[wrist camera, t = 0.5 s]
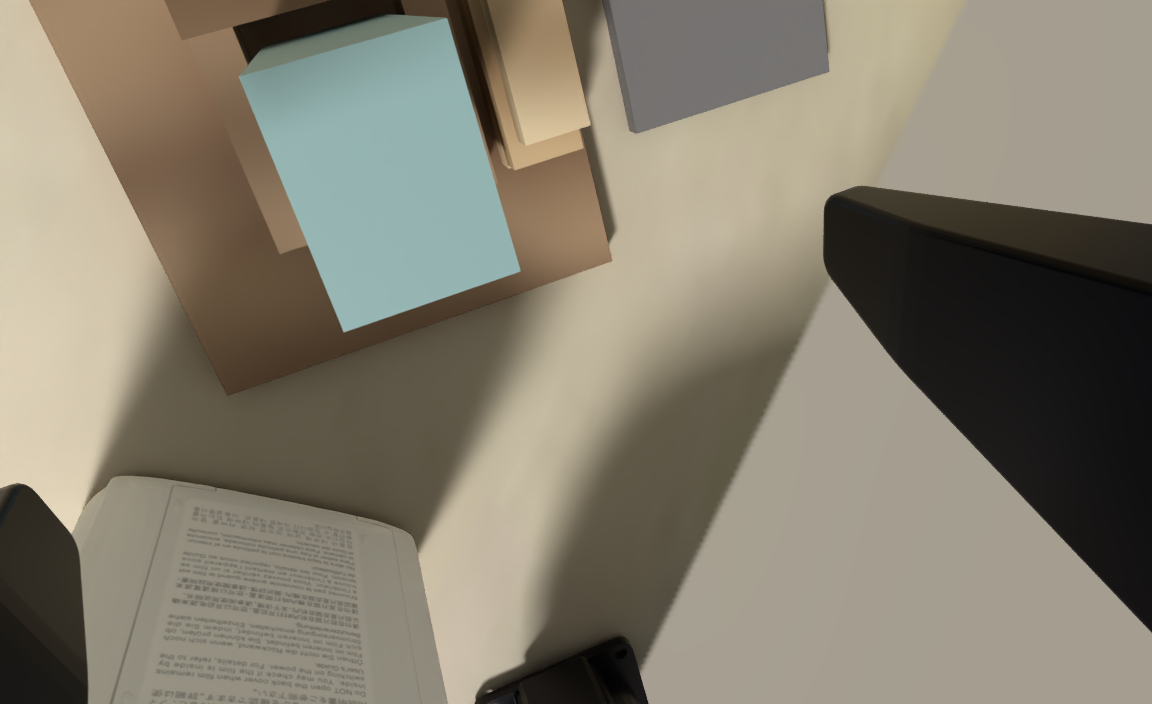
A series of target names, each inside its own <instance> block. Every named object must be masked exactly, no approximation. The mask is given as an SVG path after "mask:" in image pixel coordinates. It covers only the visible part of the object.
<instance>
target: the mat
mask: <svg viewBox="0 0 1152 704" xmlns="http://www.w3.org/2000/svg"><path fill="white" fill-rule="evenodd" d="M602 1H603V5H604V10H605V15H606V20H607V24H608V29H609V34H610V39H611V44H612V48H613V53H614V58H615V63H616V68H617V72H618V77H619V82H620V87H621V92H622V96H623V101H624V106H625V111H626V115H627V120H628V125H629V130H630V131H631V132H634V133H640V132H643V131H647V130H650V129H653V128H656V127H659V126H662V125H665V124H668V123H671V122H674V121H678V120H681V119H684V118H687V117H690V116H693V115H696V114H699V113H702V112H706V111H709V110H712V109H715V108H718V107H721V106H724V105H727V104H730V103H733V102H737V101H740V100H743V99H746V98H749V97H752V96H755V95H758V94H761V93H764V92H768V91H771V90H774V89H777V88H780V87H783V86H786V85H789V84H792V83H795V82H799V81H802V80H805V79H808V78H811V77H814V76H817V75H820V74H823V73H827V72H829V62H828V51H827V41H826V30H825V20H824V10H823V0H602Z"/></svg>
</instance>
